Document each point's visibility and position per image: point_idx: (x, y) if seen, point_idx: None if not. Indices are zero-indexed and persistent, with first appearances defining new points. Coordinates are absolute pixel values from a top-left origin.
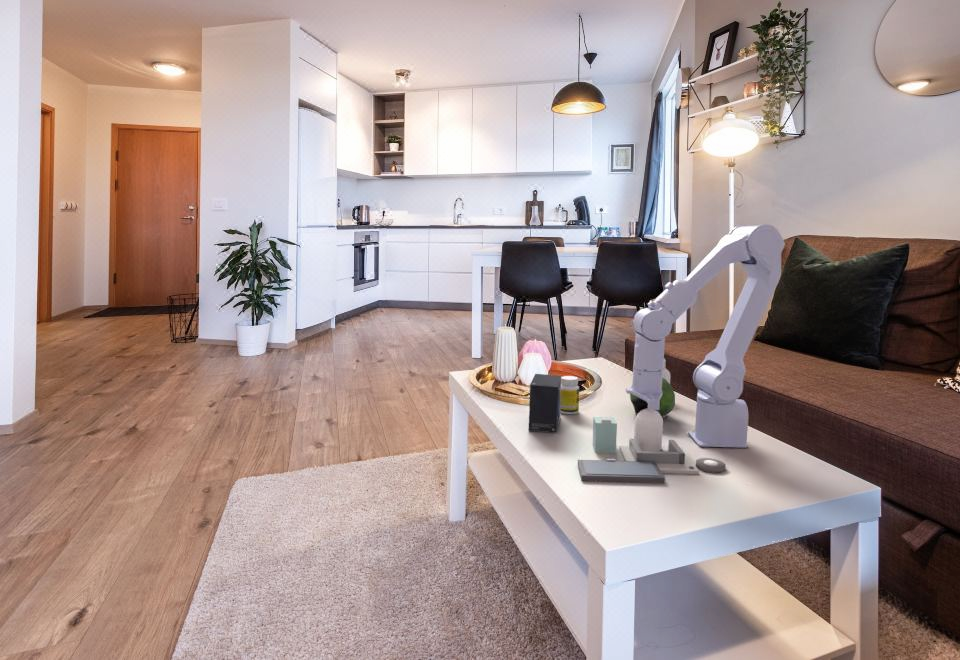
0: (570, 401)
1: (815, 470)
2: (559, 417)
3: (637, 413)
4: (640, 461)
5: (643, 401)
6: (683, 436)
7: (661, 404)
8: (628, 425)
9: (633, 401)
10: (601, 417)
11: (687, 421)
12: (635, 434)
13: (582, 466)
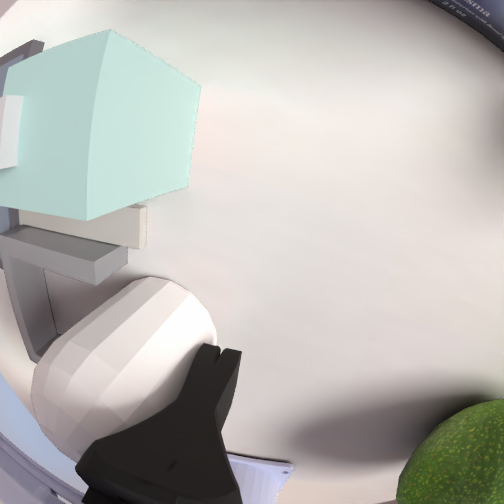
0: None
1: None
2: (500, 27)
3: (151, 417)
4: None
5: (87, 492)
6: (277, 450)
7: (404, 490)
8: (438, 347)
9: (85, 468)
10: (76, 99)
11: (386, 473)
12: (115, 306)
13: (4, 61)
